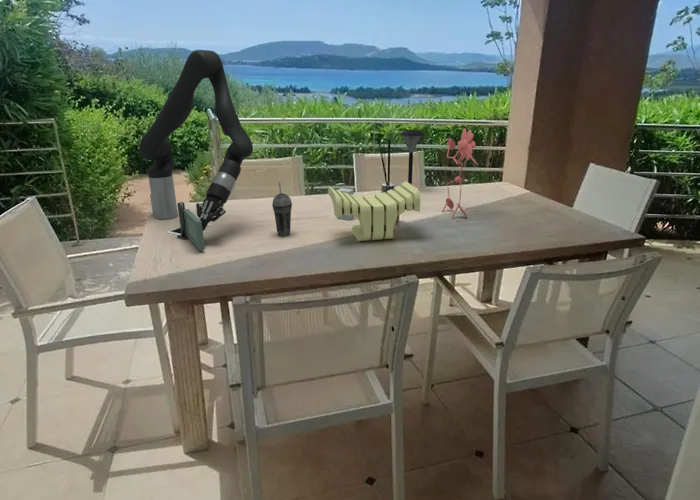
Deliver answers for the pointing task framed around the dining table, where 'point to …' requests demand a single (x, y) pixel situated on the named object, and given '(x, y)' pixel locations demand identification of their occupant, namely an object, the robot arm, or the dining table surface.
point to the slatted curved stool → (376, 210)
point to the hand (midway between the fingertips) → (199, 230)
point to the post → (182, 221)
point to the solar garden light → (411, 147)
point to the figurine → (465, 151)
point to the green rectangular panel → (194, 229)
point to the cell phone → (179, 231)
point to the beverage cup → (282, 213)
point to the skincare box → (350, 191)
